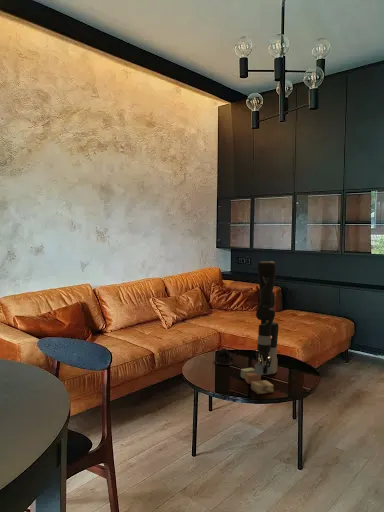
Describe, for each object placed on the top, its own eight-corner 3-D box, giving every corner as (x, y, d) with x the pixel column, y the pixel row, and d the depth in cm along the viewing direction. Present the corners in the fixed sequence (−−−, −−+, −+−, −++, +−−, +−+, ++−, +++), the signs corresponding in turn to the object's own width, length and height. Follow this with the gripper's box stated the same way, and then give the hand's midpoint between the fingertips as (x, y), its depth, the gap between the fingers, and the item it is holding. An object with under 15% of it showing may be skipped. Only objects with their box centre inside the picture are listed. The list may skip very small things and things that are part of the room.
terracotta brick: (257, 380, 240) (258, 372, 239) (260, 383, 235) (260, 375, 235) (245, 381, 238) (245, 373, 238) (248, 383, 233) (248, 375, 233)
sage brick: (251, 375, 248) (251, 367, 248) (255, 377, 244) (255, 369, 244) (240, 376, 245) (240, 369, 244) (244, 379, 241) (244, 371, 240)
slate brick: (266, 371, 227) (267, 362, 226) (270, 374, 222) (271, 365, 222) (254, 372, 224) (254, 363, 224) (258, 375, 220) (258, 366, 220)
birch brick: (265, 386, 229) (266, 380, 229) (273, 392, 222) (273, 385, 222) (250, 388, 226) (251, 381, 226) (257, 394, 218) (258, 387, 218)
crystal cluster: (226, 368, 261) (229, 354, 261) (210, 362, 269) (212, 348, 269) (236, 365, 272) (239, 351, 271) (220, 359, 280) (222, 345, 280)
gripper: (276, 345, 217) (275, 375, 218) (263, 339, 231) (261, 367, 231) (265, 346, 214) (263, 377, 215) (252, 339, 228) (250, 368, 229)
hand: (262, 372), depth 223 cm, fingers closed on slate brick, 4 cm apart
